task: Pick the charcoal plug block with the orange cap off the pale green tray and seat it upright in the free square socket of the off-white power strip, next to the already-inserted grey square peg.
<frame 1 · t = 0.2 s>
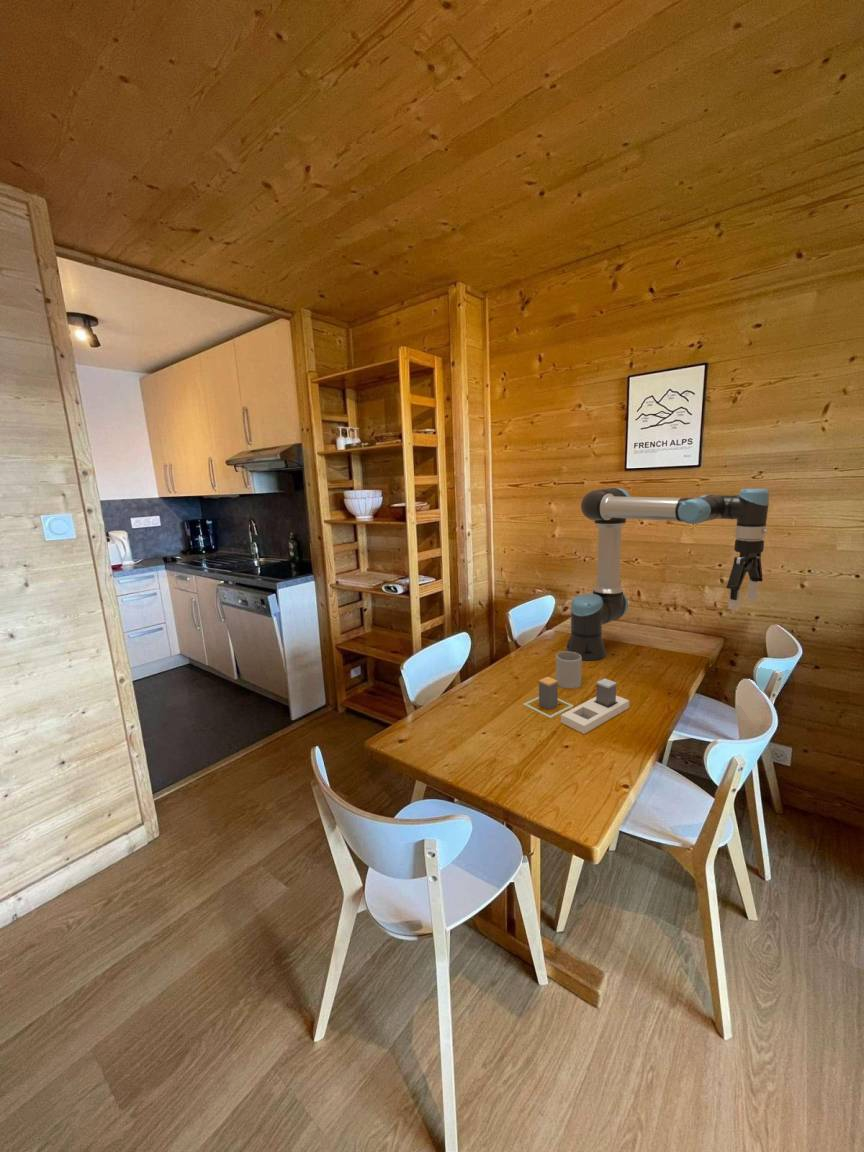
hand: (742, 604, 147), 28 cm above the table, fingers open, 13 cm apart
mug: (570, 684, 160), on the table
strip: (595, 718, 138), on the table
plug: (548, 706, 145), resting on tray
tray: (548, 708, 145), on the table
grey square peg: (605, 709, 140), resting on strip
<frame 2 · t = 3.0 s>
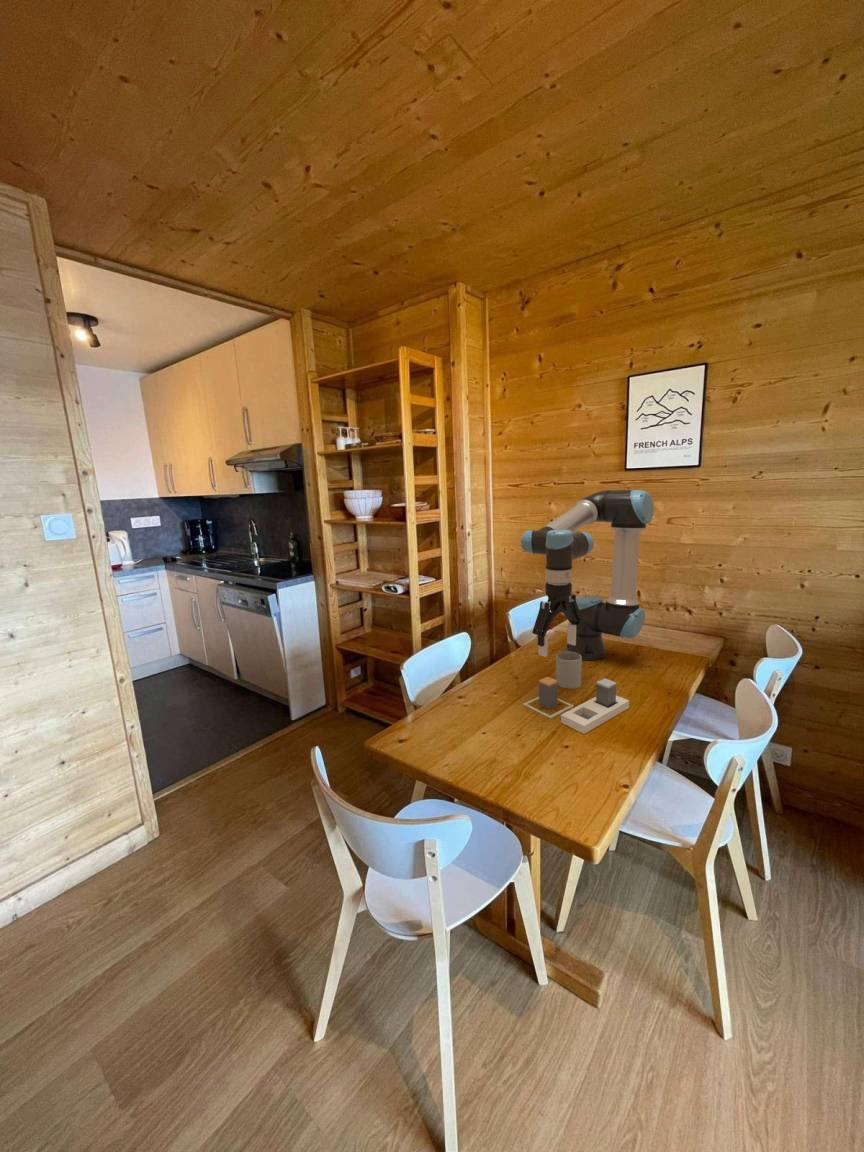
hand: (557, 649, 141), 19 cm above the table, fingers open, 13 cm apart
nothing on the table moved.
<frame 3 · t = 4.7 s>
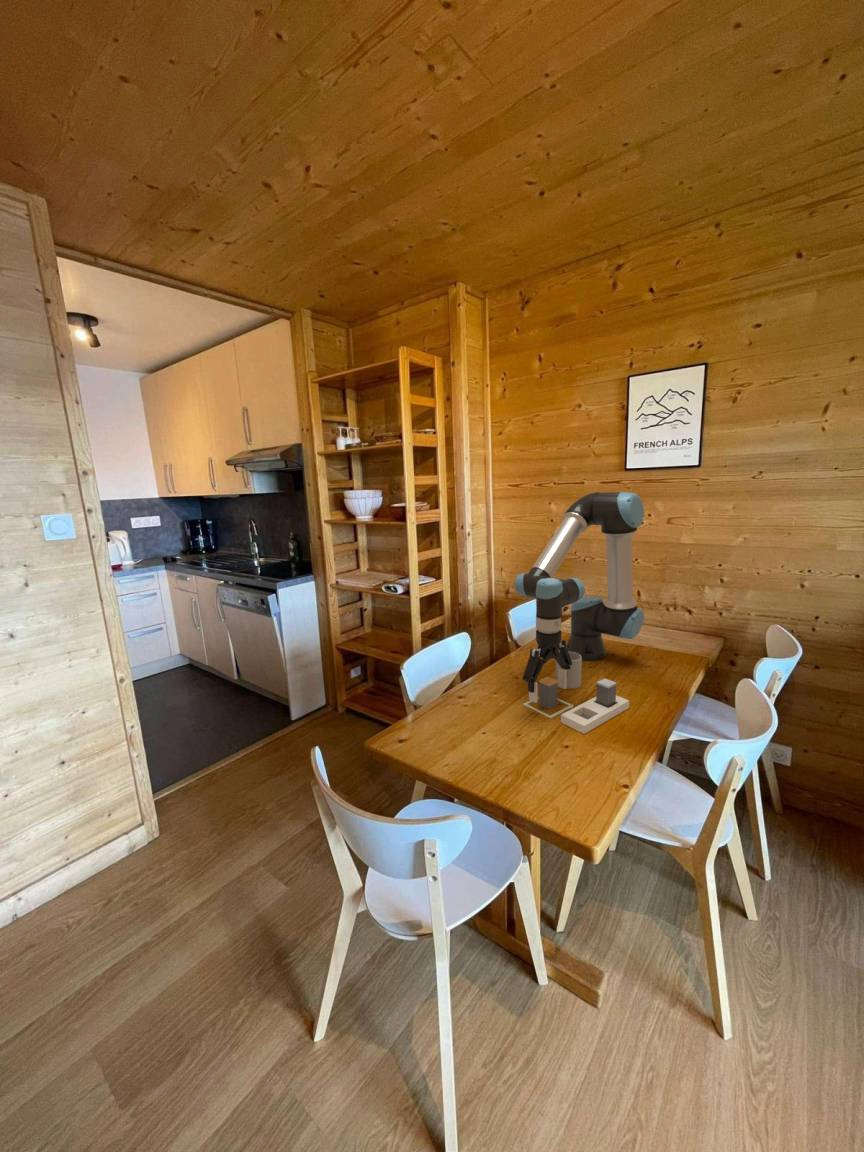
hand: (547, 694, 144), 5 cm above the table, fingers open, 13 cm apart
nothing on the table moved.
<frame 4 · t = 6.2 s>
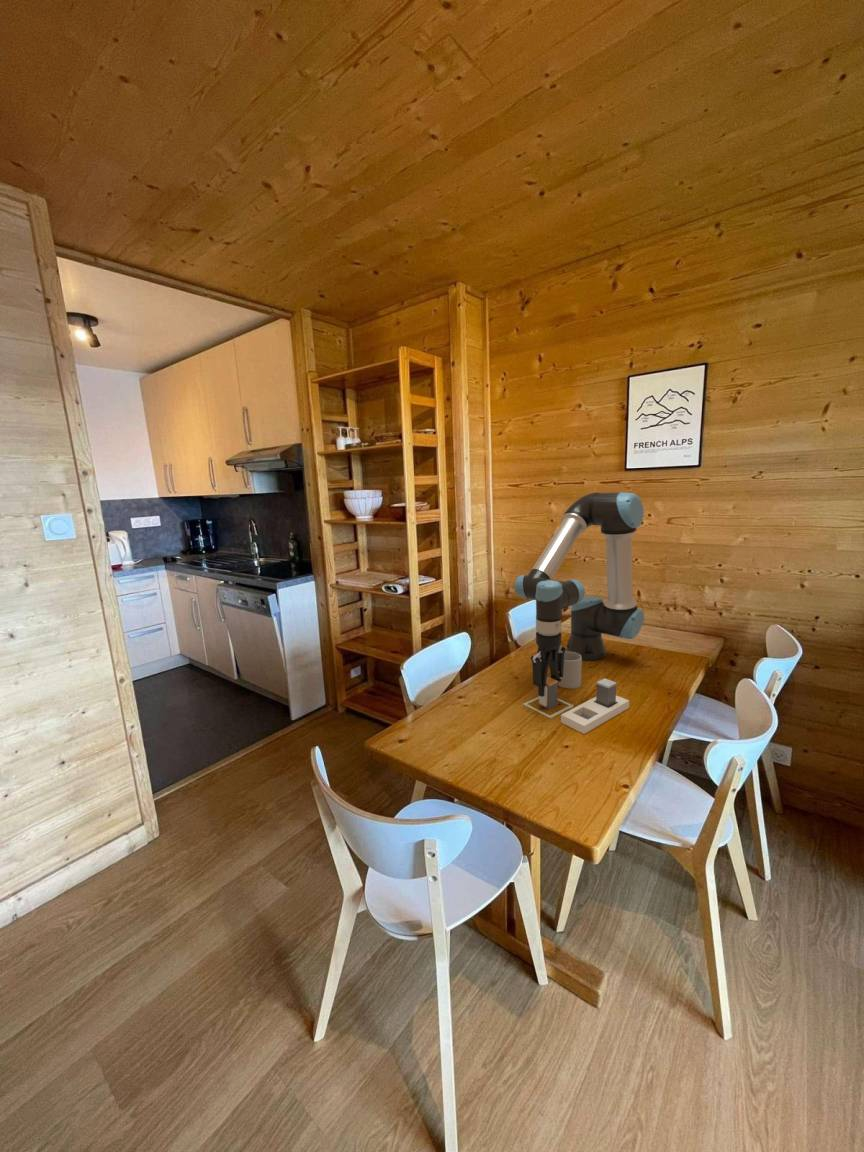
hand: (548, 702, 144), 2 cm above the table, fingers closed on plug, 4 cm apart
plug: (548, 706, 145), point 1 cm above the table, touching gripper, tray
everything else where it was.
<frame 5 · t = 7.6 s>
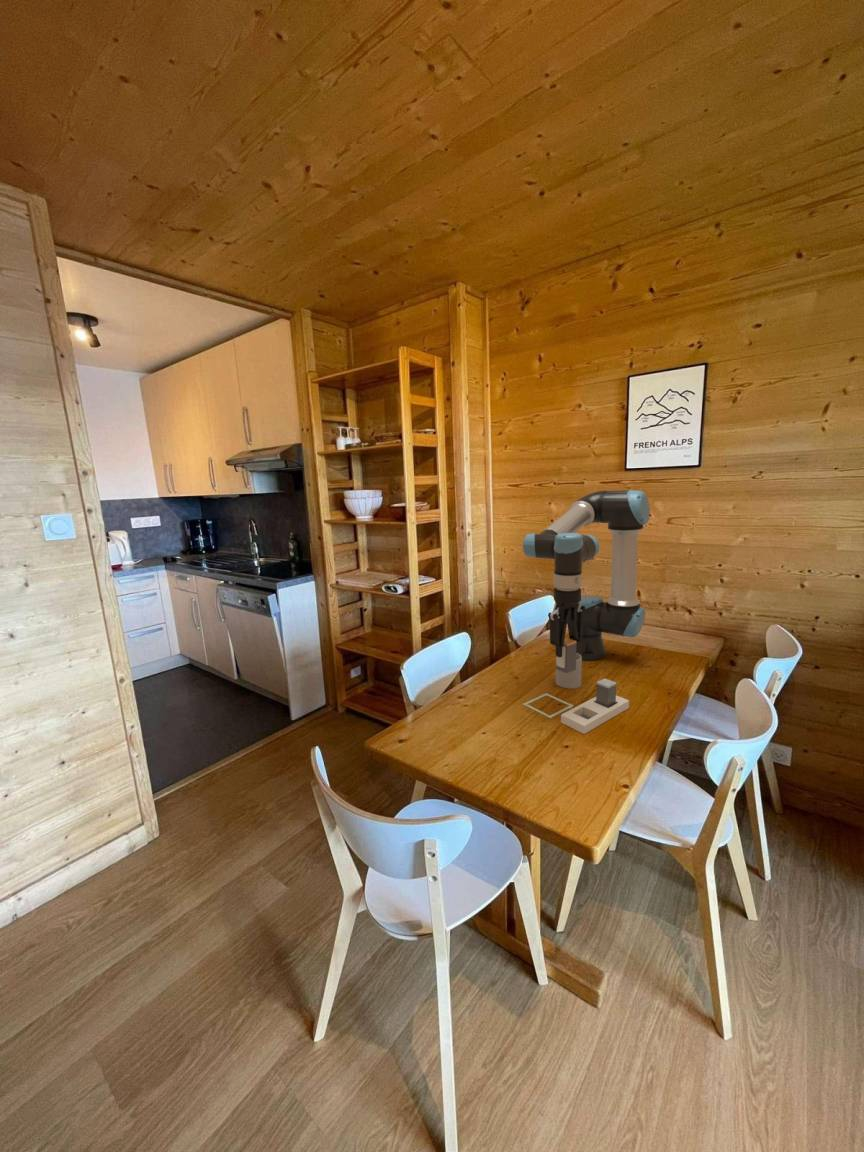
hand: (566, 664, 136), 17 cm above the table, fingers closed on plug, 4 cm apart
plug: (565, 669, 136), point 15 cm above the table, touching gripper
everything else where it was.
when the fingers open (4 cm above the table, at t = 9.5 s): plug drops 2 cm, resting on strip.
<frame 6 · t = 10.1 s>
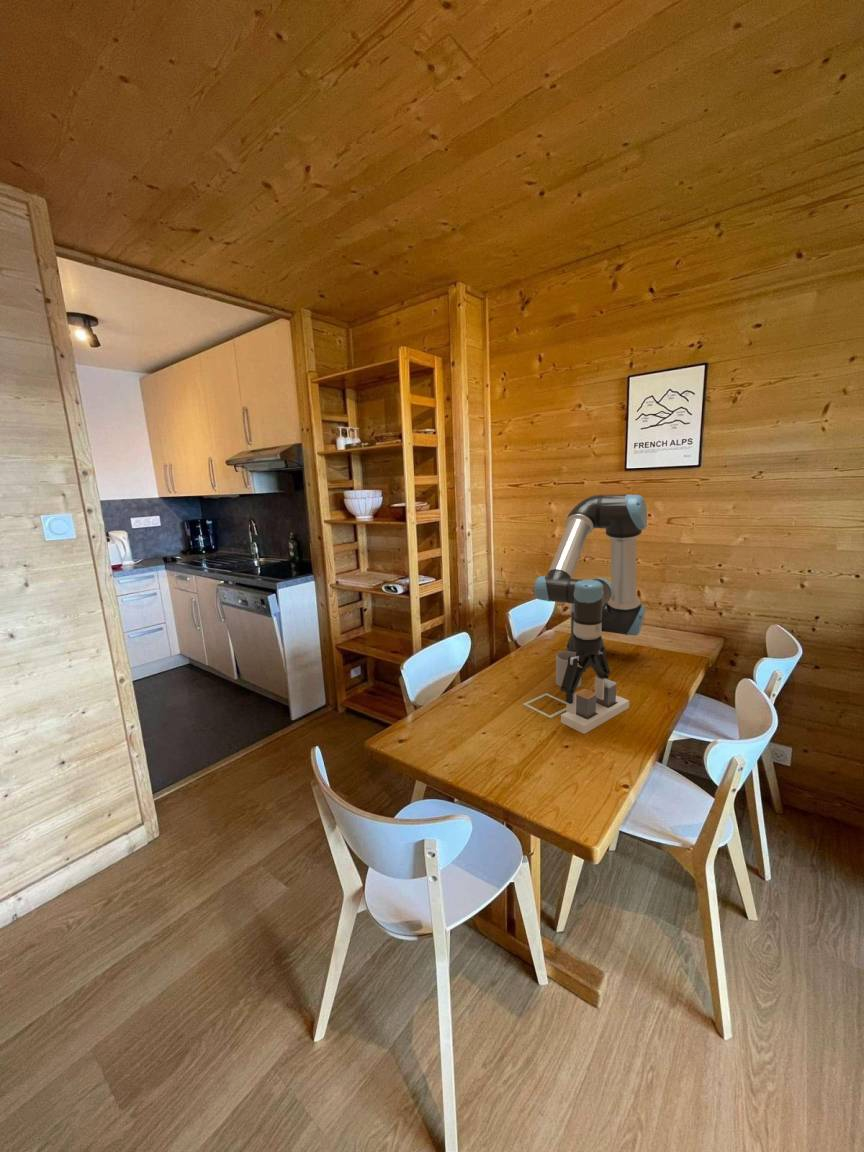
hand: (585, 705, 134), 6 cm above the table, fingers open, 12 cm apart
plug: (585, 720, 135), point 1 cm above the table, touching strip
everything else where it was.
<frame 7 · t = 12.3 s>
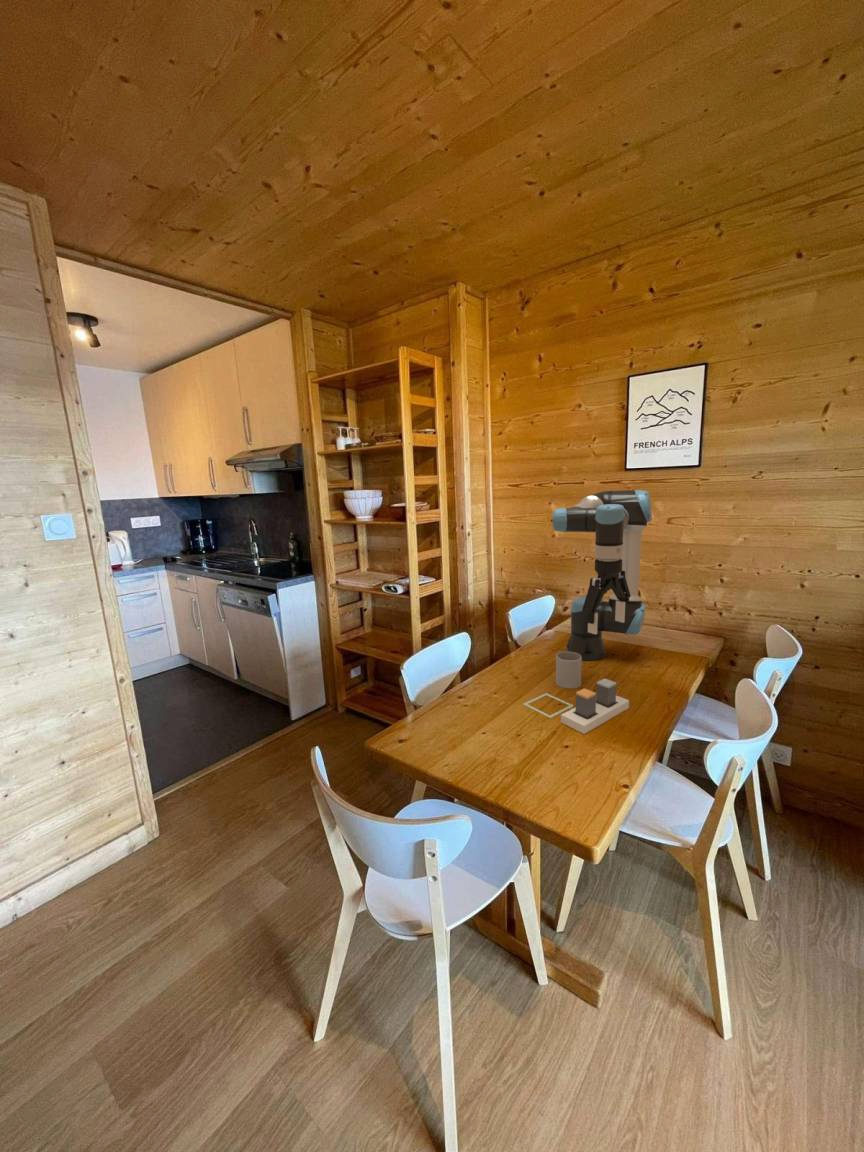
hand: (606, 627, 138), 26 cm above the table, fingers open, 13 cm apart
nothing on the table moved.
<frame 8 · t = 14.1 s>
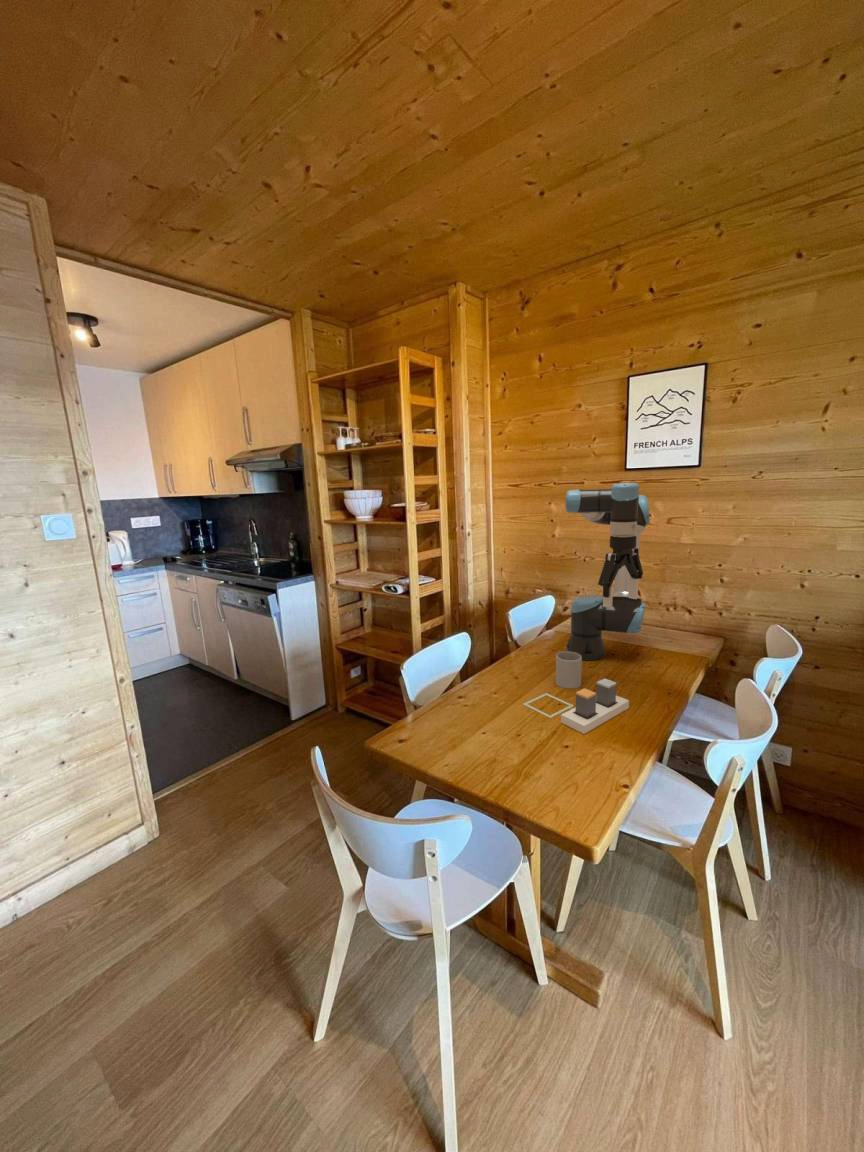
hand: (620, 602, 143), 32 cm above the table, fingers open, 13 cm apart
nothing on the table moved.
at the end: plug 0.0 cm from the target spot on the strip, point 1.0 cm above the strip's base; plug tilted 0°; the gripper is holding nothing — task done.
